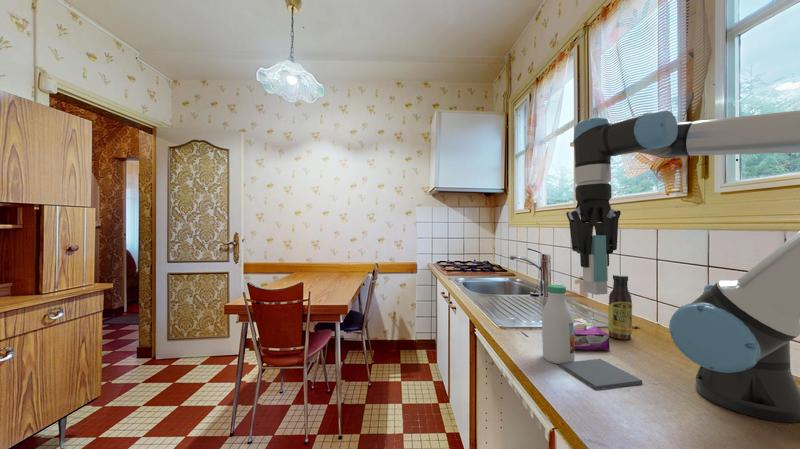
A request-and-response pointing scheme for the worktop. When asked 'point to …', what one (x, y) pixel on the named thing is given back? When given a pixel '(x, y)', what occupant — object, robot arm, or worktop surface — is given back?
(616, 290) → the sauce bottle
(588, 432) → the worktop surface
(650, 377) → the worktop surface
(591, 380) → the mat
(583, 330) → the candy bar box
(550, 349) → the milk bottle
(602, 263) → the stick
